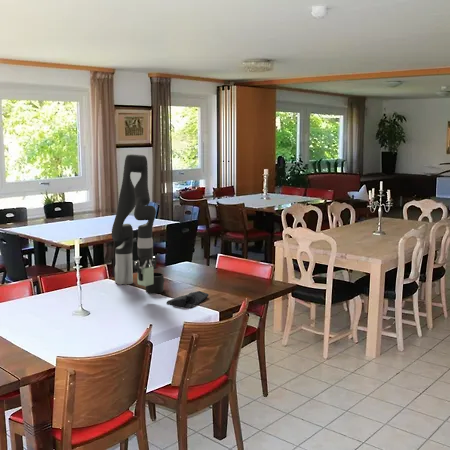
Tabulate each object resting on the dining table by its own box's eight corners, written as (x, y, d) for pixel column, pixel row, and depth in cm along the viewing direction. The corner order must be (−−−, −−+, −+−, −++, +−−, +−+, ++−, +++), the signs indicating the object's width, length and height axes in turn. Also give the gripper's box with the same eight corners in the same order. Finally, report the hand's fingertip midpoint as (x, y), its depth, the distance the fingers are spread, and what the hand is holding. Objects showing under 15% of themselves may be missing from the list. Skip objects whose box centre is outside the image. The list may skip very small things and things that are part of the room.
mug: (170, 289, 299) (170, 273, 298) (154, 294, 290) (154, 277, 288) (158, 286, 305) (157, 270, 303) (142, 291, 295) (141, 274, 294)
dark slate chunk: (213, 299, 284) (213, 290, 283) (188, 310, 265) (188, 300, 265) (189, 294, 292) (189, 285, 291) (163, 305, 273) (163, 295, 273)
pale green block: (137, 284, 278) (137, 266, 276) (145, 282, 282) (145, 264, 280) (145, 286, 274) (145, 268, 273) (153, 284, 279) (153, 266, 277)
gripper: (150, 242, 283) (150, 275, 285) (129, 247, 271) (129, 280, 274) (161, 244, 278) (161, 277, 281) (139, 249, 267) (140, 283, 270)
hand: (145, 279), depth 278 cm, fingers closed on pale green block, 5 cm apart
